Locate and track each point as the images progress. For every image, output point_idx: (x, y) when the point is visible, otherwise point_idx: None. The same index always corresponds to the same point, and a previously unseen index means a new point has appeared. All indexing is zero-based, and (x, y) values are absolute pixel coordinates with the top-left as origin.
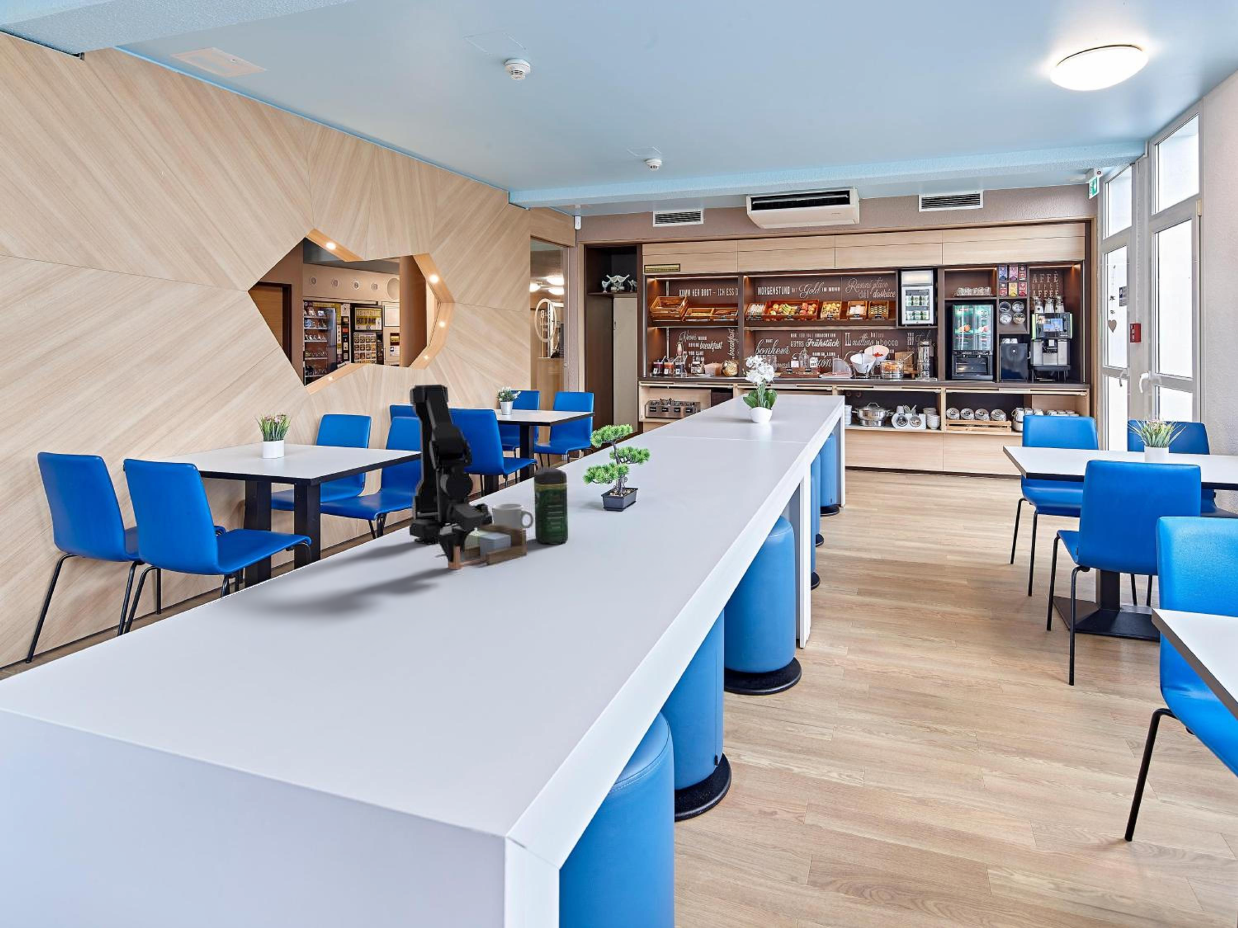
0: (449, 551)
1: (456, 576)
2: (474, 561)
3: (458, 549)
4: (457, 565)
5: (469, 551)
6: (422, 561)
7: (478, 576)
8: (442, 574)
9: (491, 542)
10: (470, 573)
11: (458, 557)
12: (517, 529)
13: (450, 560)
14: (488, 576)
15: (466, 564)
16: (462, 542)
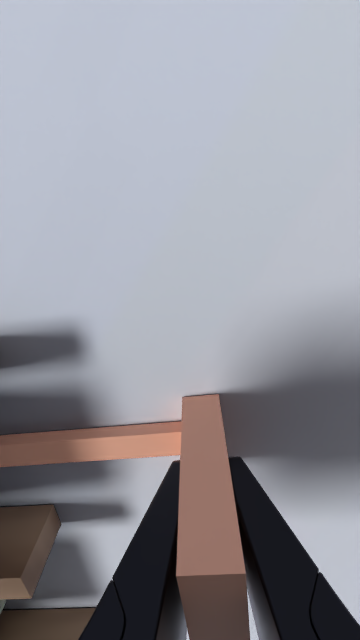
0: (300, 544)
1: (327, 254)
2: (50, 439)
3: (197, 537)
4: (210, 412)
5: (17, 555)
6: None
7: (208, 105)
8: (349, 368)
9: None
10: (202, 248)
11: (199, 461)
12: None
13: (246, 473)
14: (139, 18)
15: (116, 430)
16: (115, 637)
